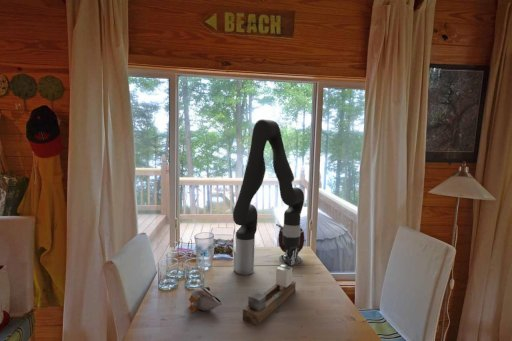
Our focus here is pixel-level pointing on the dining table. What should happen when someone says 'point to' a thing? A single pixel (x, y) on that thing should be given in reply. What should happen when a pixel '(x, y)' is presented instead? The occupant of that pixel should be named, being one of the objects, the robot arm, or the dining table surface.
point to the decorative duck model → (203, 300)
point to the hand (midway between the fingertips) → (289, 272)
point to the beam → (265, 303)
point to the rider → (283, 276)
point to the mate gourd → (284, 246)
